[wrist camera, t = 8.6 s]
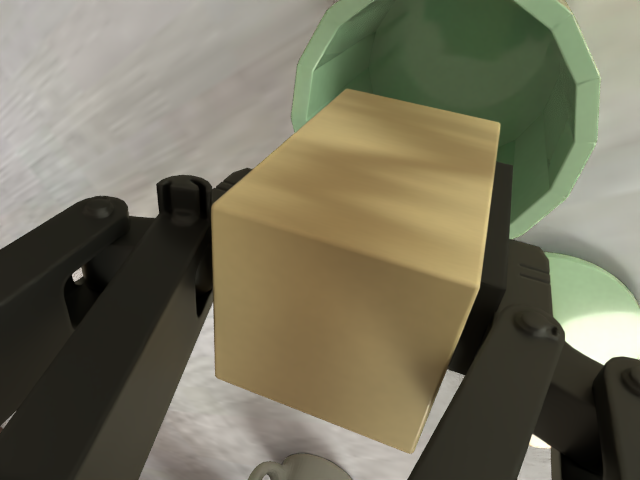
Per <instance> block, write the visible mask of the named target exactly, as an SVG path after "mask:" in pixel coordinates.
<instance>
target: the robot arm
mask: <svg viewBox="0 0 640 480" xmlns="http://www.w3.org/2000/svg"><path fill="white" fill-rule="evenodd" d="M251 170H253V169H250V168H245V169H242V170H239V171H236V172H234V173H232V174H231V175H229V176H228V177H227V178H226V179H225V180H224V181H223V182H221V183H220V184H218V185H217V186H216V188H214V189H212V186H211V185H210V183H209V182H208V181H206V180H205V179H203V178H200V177H196V176H192V175H178V176H171V177H168V178H165V179H162V180H161V181H160V182H158V183H157V184H156V186H157V196H158V206H159V214H158V216H157V217H156V218H146V217H135V216H129V212H128V206H127V204H126V203H125V202H124V201H123V200H120V199H118V198H115V197H109V196H95V197H92V198H87V199H84V200H82V201H80V202H77V203H76V204H74V205H72V206H71V207H69V208H67V209H66V210H64V211H63V212H61V213H59V214H58V215H56V216H54V217H53V218H51V219H49V220H48V221H46V222H45V223H43V224H41V225H40V226H38V227H36V228H35V229H33V230H32V231H30V232H28V233H27V234H25V235H23V236H22V237H20V238H19V239H17V240H15V241H14V242H12V243H10V244H9V245H7V246H5V247H4V248H2V249H1V250H0V426H1V425H2V424H3V423H4V422H5V421H6V420H7V419H8V418H9V417H10V416H11V415H12V414H13V413H14V412H15V411H16V410H17V411H16V412H15V414H14V415H13V416H12V418H11V419H10V420H9V422H8V423H7V425H6V426H5V427H4V429H3V430H2V432H1V433H0V480H138V479H139V477H140V474H141V472H142V470H143V467H144V465H145V462H146V460H147V458H148V455H149V453H150V451H151V448H152V446H153V443H154V441H155V439H156V436H157V434H158V431H159V429H160V427H161V424H162V422H163V420H164V417H165V415H166V412H167V410H168V408H169V405H170V403H171V401H172V398H173V396H174V393H175V391H176V389H177V386H178V384H179V381H180V379H181V377H182V374H183V372H184V370H185V367H186V365H187V362H188V360H189V358H190V355H191V353H192V351H193V348H194V346H195V343H196V341H197V339H198V336H199V334H200V331H201V329H202V327H203V324H204V322H205V320H206V317H207V315H208V312H209V310H210V308H211V305H212V303H213V268H212V228H211V207H212V205H213V203H214V202H215V201H217V200H218V199H219V198H220V197H221V196H222V195H224V194H225V193H226V192H227V191H228V190H229V189H230V188H232V187H233V186H234V185H235V184H236V183H237V182H239V181H240V180H241V179H242V178H243V177H244V176H246V175H247V174H248V173H249V172H250V171H251ZM512 179H513V165H510V164H506V163H501V162H497V161H496V166H495V174H494V182H493V189H492V197H491V205H490V213H489V221H488V228H487V236H486V244H485V252H484V260H483V267H482V275H481V283H480V289H479V291H478V294H477V296H476V299H475V301H474V304H473V306H472V309H471V311H470V314H469V316H468V319H467V321H466V324H465V326H464V328H463V331H462V333H461V336H460V338H459V341H458V343H457V346H456V348H455V351H454V353H453V356H452V358H451V361H450V363H449V366H448V368H447V369H448V370H451V371H454V372H457V373H460V374H463V375H465V377H464V379H463V381H462V382H461V384H460V386H459V388H458V390H457V391H456V393H455V395H454V397H453V399H452V400H451V402H450V404H449V406H448V408H447V409H446V411H445V413H444V415H443V417H442V418H441V420H440V422H439V424H438V426H437V427H436V429H435V431H434V433H433V435H432V436H431V438H430V440H429V442H428V444H427V445H426V447H425V449H424V451H423V452H422V454H421V456H420V458H419V460H418V461H417V463H416V465H415V467H414V469H413V470H412V472H411V474H410V476H409V478H408V479H407V480H517V477H518V475H519V472H520V469H521V466H522V463H523V460H524V457H525V454H526V452H527V449H528V446H529V443H530V440H531V437H532V434H533V435H534V436H536V437H538V438H539V439H541V440H542V441H544V442H545V443H547V444H548V445H550V446H551V475H552V480H640V360H638V359H635V358H630V357H625V356H620V357H612V358H611V359H610V360H608V361H607V362H606V363H605V364H604V365H603V364H601V363H599V362H597V361H595V360H593V359H592V358H590V357H588V356H586V355H584V354H582V353H581V352H579V351H578V350H576V349H574V348H573V347H572V346H571V345H569V344H568V343H567V342H566V341H565V332H564V330H563V328H562V326H561V324H560V323H559V322H558V321H557V320H556V319H555V318H554V317H553V308H552V294H551V285H550V282H551V280H550V274H549V273H550V266H549V259H548V258H547V256H546V255H545V254H544V252H543V251H542V249H541V248H540V247H537V246H534V245H530V244H526V243H523V242H519V241H515V240H512V239H509V234H510V216H511V198H512ZM80 267H81V268H82V272H83V277H82V278H80V279H79V280H77V281H75V282H74V281H73V278H72V274H73V273H74V272H75V271H76V270H78V269H79V268H80Z"/></svg>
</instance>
